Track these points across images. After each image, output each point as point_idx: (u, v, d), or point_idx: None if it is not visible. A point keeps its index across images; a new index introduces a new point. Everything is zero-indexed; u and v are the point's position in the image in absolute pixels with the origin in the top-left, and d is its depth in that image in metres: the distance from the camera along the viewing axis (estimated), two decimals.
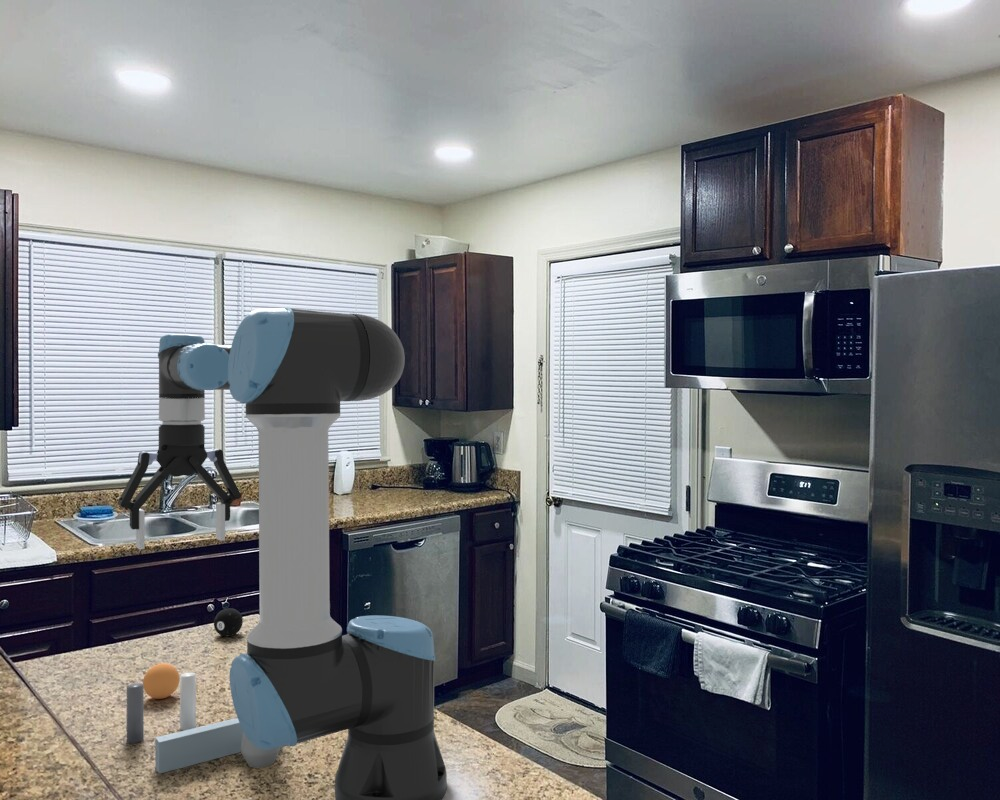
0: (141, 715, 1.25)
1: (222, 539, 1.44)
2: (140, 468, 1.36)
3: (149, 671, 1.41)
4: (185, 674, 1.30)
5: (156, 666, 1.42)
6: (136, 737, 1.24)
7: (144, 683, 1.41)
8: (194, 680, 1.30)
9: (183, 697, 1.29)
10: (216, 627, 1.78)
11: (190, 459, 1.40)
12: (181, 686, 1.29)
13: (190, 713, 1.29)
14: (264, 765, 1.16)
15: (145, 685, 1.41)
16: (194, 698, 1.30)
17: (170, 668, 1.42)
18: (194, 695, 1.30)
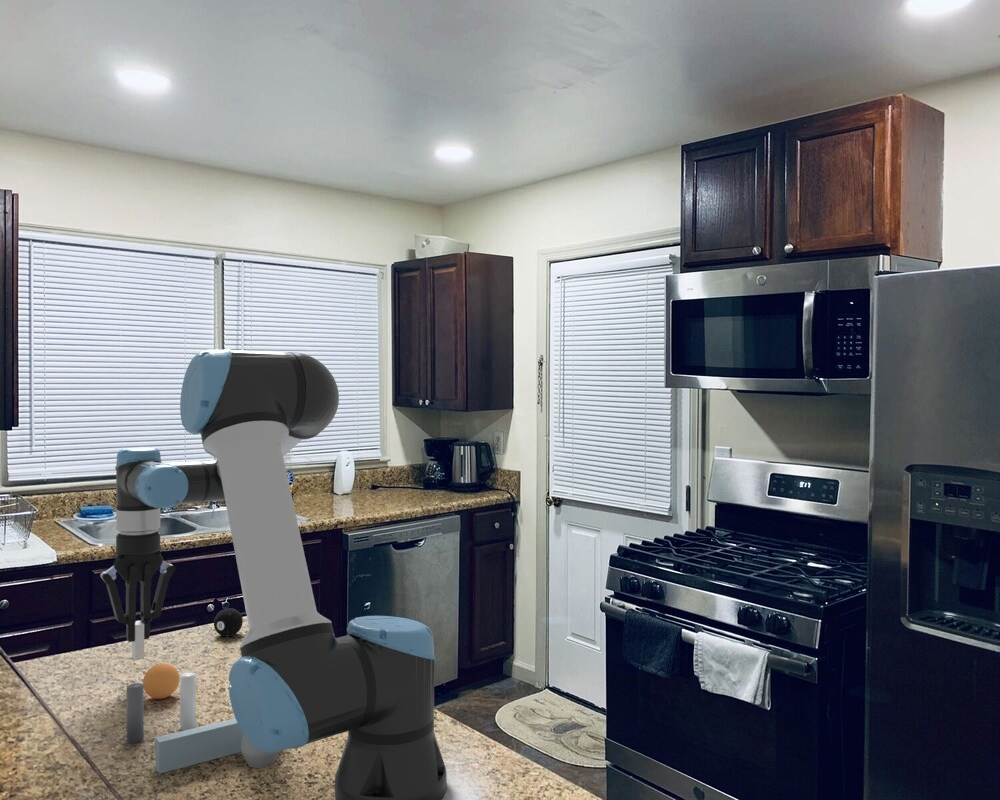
0: (141, 715, 1.25)
1: (141, 658, 1.49)
2: (110, 588, 1.46)
3: (149, 671, 1.41)
4: (185, 674, 1.30)
5: (156, 666, 1.42)
6: (136, 737, 1.24)
7: (144, 683, 1.41)
8: (194, 680, 1.30)
9: (183, 697, 1.29)
10: (216, 627, 1.78)
11: (147, 565, 1.49)
12: (181, 686, 1.29)
13: (190, 713, 1.29)
14: (264, 765, 1.16)
15: (145, 685, 1.41)
16: (194, 698, 1.30)
17: (170, 668, 1.42)
18: (194, 695, 1.30)
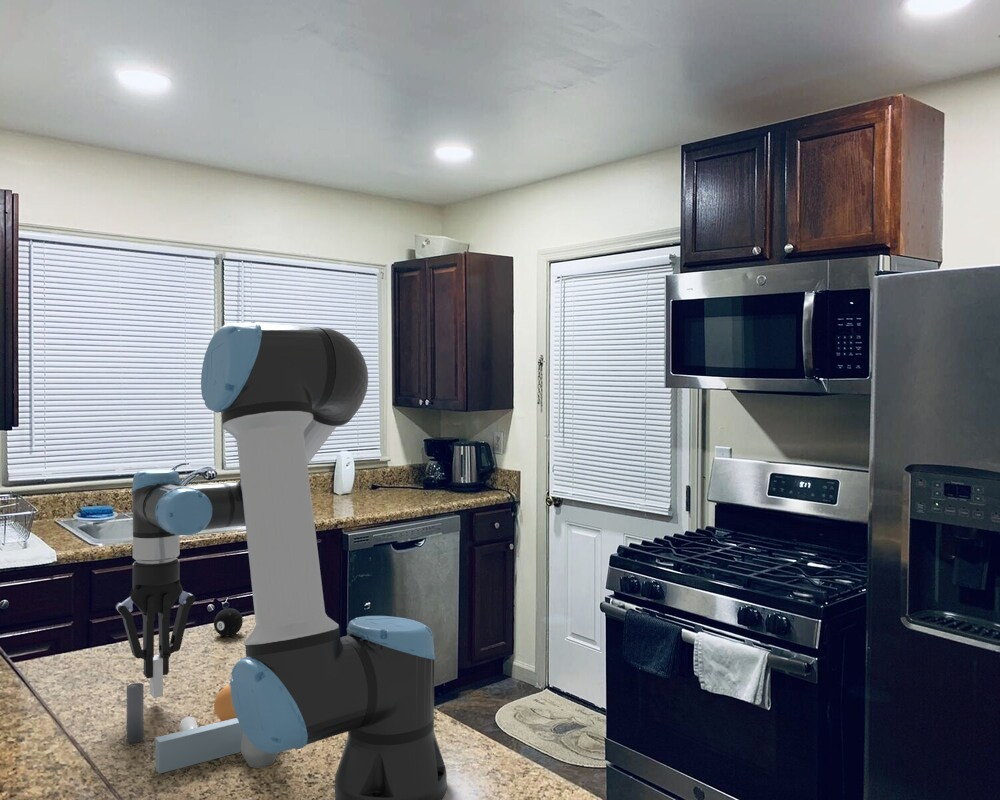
0: (141, 715, 1.25)
1: (160, 695, 1.39)
2: (127, 621, 1.36)
3: None
4: None
5: None
6: (136, 737, 1.24)
7: (229, 702, 1.30)
8: None
9: None
10: (216, 627, 1.78)
11: (165, 595, 1.39)
12: None
13: None
14: (264, 765, 1.16)
15: (231, 704, 1.30)
16: None
17: None
18: None
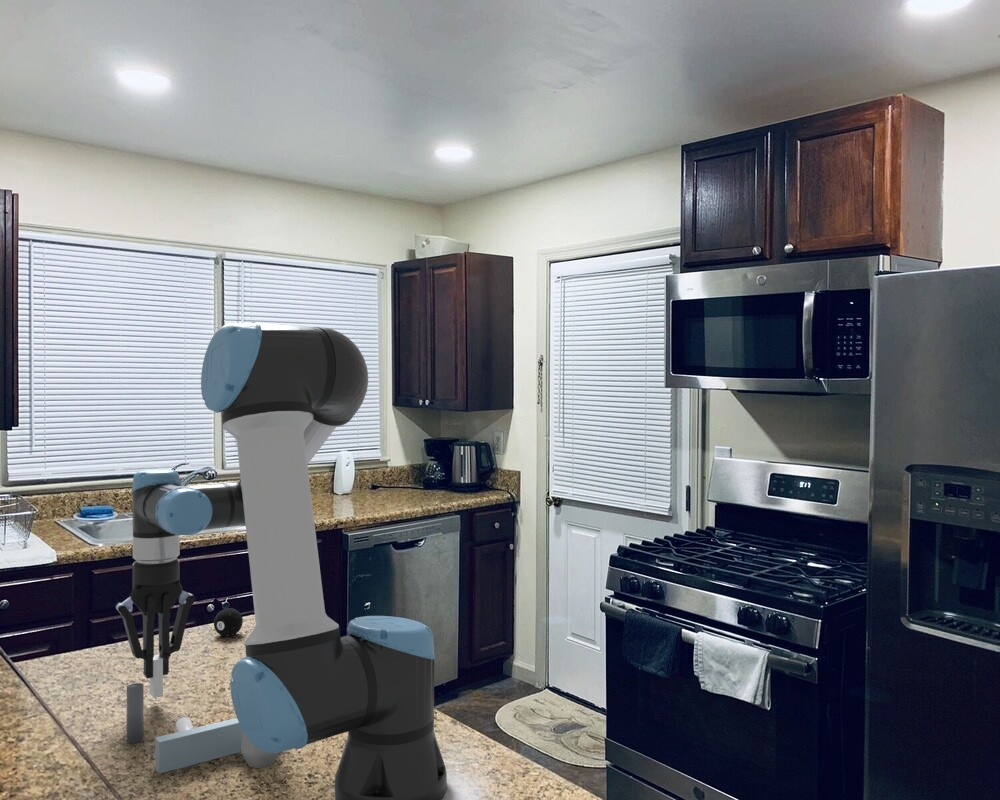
0: (141, 715, 1.25)
1: (160, 695, 1.39)
2: (127, 621, 1.36)
3: None
4: None
5: None
6: (136, 737, 1.24)
7: None
8: None
9: None
10: (216, 627, 1.78)
11: (165, 595, 1.39)
12: None
13: None
14: (264, 765, 1.16)
15: None
16: None
17: None
18: None
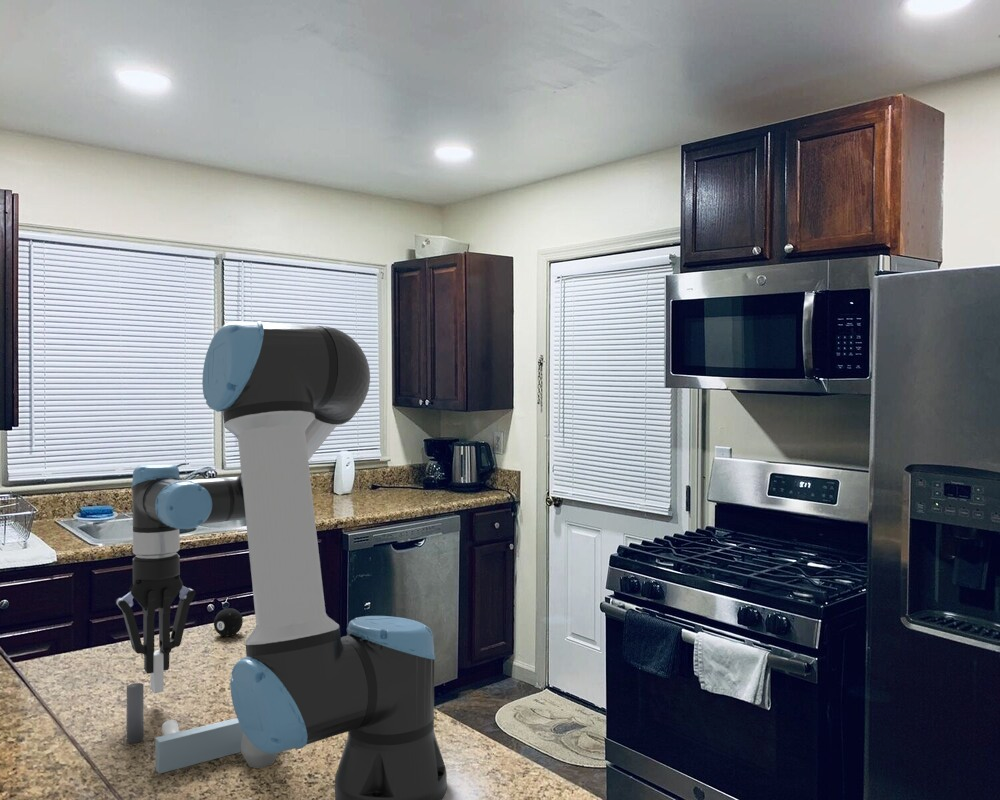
0: (141, 715, 1.25)
1: (160, 690, 1.38)
2: (127, 616, 1.35)
3: None
4: None
5: None
6: (136, 737, 1.24)
7: None
8: None
9: None
10: (216, 627, 1.78)
11: (166, 590, 1.38)
12: None
13: (174, 725, 1.26)
14: (264, 765, 1.16)
15: None
16: (171, 731, 1.23)
17: None
18: (171, 732, 1.23)
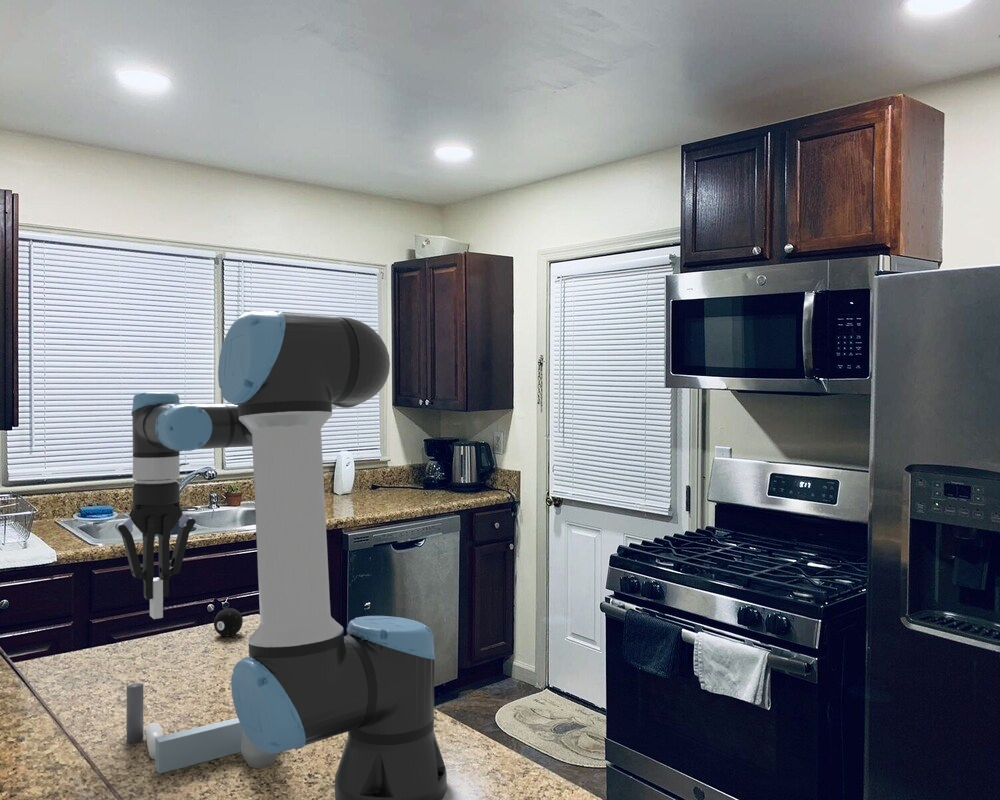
0: (141, 715, 1.25)
1: (160, 616, 1.39)
2: (126, 540, 1.35)
3: None
4: None
5: None
6: (136, 737, 1.24)
7: None
8: None
9: (150, 738, 1.21)
10: (216, 627, 1.78)
11: (165, 516, 1.39)
12: (153, 740, 1.20)
13: None
14: (264, 765, 1.16)
15: None
16: None
17: None
18: None
